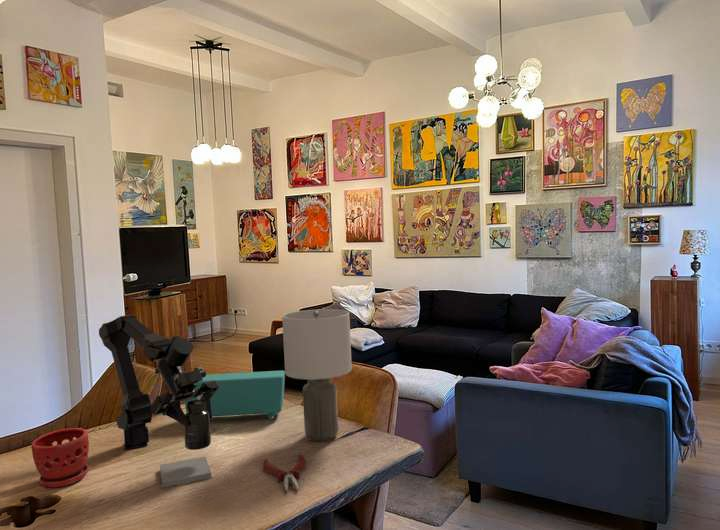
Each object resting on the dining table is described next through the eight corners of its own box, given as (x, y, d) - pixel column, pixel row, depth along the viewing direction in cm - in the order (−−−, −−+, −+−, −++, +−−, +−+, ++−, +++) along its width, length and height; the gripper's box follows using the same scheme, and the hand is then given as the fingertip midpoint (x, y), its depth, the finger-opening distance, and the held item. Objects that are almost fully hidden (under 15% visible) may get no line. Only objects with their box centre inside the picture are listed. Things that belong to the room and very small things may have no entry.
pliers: (268, 500, 131) (268, 489, 131) (262, 466, 150) (261, 457, 150) (316, 492, 134) (315, 482, 133) (303, 460, 153) (303, 451, 153)
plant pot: (53, 470, 153) (50, 428, 152) (100, 469, 152) (97, 426, 152) (23, 492, 140) (19, 446, 139) (74, 491, 139) (70, 444, 139)
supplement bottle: (216, 444, 149) (214, 401, 148) (193, 452, 144) (191, 407, 143) (202, 439, 153) (200, 396, 153) (179, 446, 148) (177, 402, 148)
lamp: (367, 437, 167) (362, 310, 164) (308, 455, 155) (302, 318, 153) (332, 420, 183) (327, 305, 181) (277, 435, 172) (270, 312, 170)
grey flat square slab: (162, 488, 138) (162, 482, 138) (160, 470, 150) (160, 464, 149) (211, 478, 143) (211, 472, 143) (205, 461, 154) (205, 456, 154)
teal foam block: (287, 410, 197) (285, 369, 196) (284, 420, 186) (282, 376, 186) (191, 416, 195) (188, 374, 194) (183, 426, 185) (180, 382, 184)
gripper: (153, 366, 142) (180, 415, 136) (213, 352, 157) (240, 396, 151) (139, 391, 148) (164, 439, 142) (198, 375, 162) (223, 418, 156)
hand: (200, 422), depth 147 cm, fingers closed on supplement bottle, 7 cm apart
